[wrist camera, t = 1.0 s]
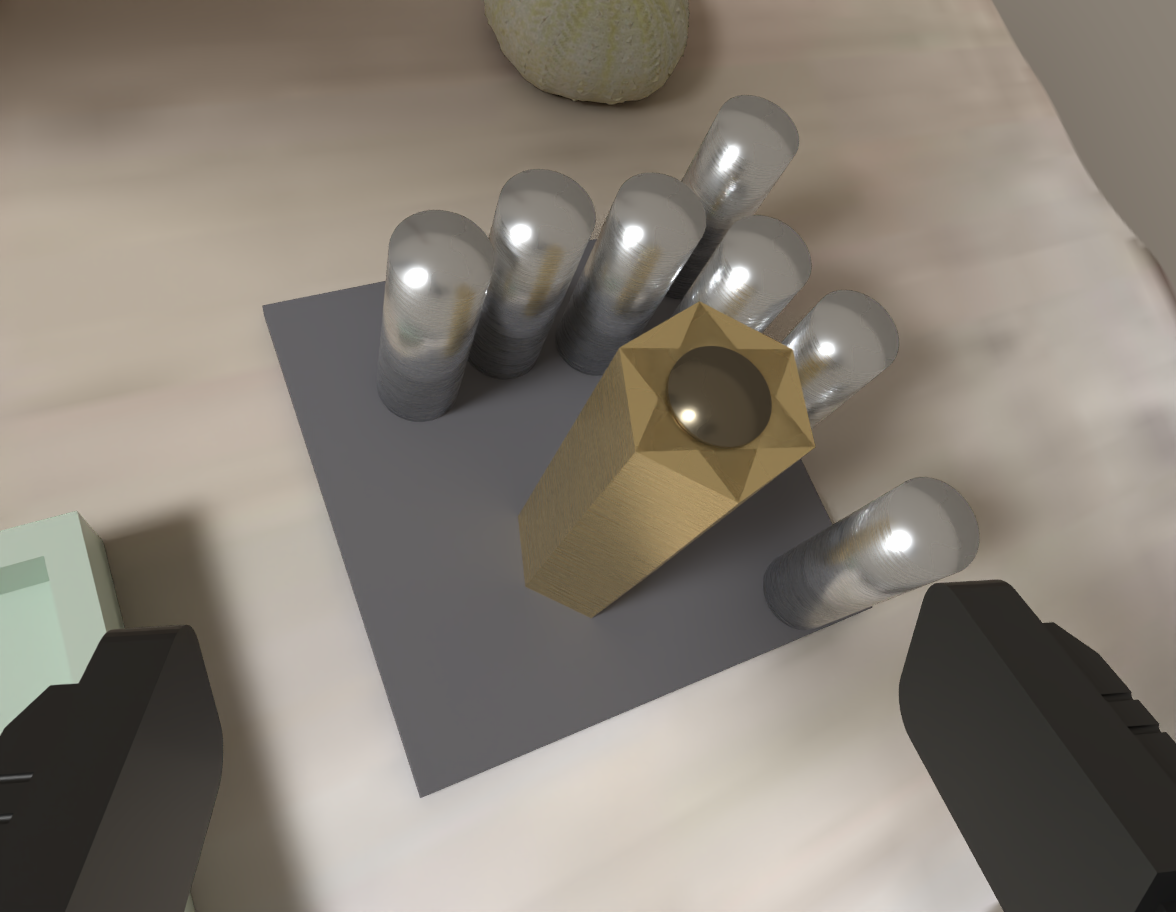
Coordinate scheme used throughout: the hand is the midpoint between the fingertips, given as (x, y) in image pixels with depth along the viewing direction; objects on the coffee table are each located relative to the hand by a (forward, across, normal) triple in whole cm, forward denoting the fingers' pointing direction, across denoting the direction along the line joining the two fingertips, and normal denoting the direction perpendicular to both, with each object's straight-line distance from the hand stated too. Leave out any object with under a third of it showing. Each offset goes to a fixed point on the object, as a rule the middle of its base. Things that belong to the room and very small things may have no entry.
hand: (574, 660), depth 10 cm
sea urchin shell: (+36, -4, -2) cm, 37 cm away
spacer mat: (+20, -2, +10) cm, 22 cm away
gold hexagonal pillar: (+17, -2, +11) cm, 20 cm away
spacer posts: (+19, -4, +9) cm, 22 cm away
